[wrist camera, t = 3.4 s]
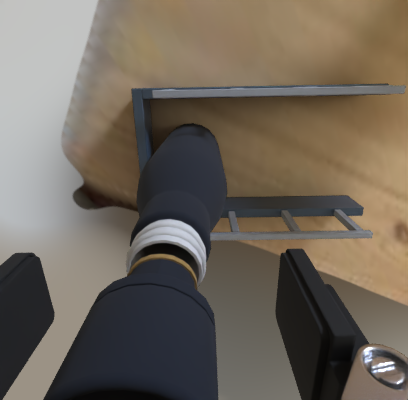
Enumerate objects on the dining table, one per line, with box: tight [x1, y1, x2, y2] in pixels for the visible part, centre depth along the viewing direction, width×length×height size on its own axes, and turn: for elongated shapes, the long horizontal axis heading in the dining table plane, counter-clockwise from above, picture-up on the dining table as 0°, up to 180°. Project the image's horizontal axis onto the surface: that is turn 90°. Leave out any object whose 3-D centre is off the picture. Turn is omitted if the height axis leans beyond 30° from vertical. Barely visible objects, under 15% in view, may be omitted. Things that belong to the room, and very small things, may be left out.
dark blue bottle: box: [43, 123, 227, 400], centre depth 20 cm, size 6×6×30 cm
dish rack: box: [131, 84, 406, 240], centre depth 29 cm, size 25×14×10 cm, turn 91°
